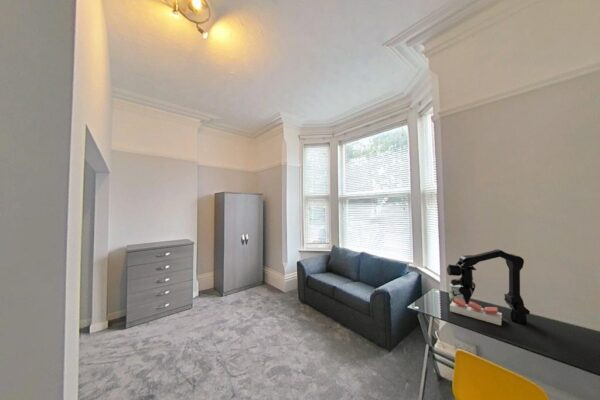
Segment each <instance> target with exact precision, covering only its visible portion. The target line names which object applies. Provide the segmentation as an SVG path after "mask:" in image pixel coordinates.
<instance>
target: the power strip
mask: <svg viewBox="0 0 600 400" xmlns="http://www.w3.org/2000/svg"><path fill="white" fill-rule="evenodd" d="M449 312H452V313H456V314H458V315H463V316H466V317H470V318H473V319H475V320H480V321H484V322H487V323H491V324H494V325H498V326H502V323H503V322H507V323H509V320H508V319H506V318H503V315H502V314H503V313H502V312H499V311H498V313H485V312H484V308H483V307H481V309H480V311H477V310H475V309H473V308H471V307H469V306H468V303H466V304H465V306H464V307H462V306H460V305H458V304H456V303H454V302H453V301H452V302H451V303H450V304H449Z"/></svg>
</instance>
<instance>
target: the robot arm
mask: <svg viewBox="0 0 600 400" xmlns="http://www.w3.org/2000/svg"><path fill="white" fill-rule="evenodd" d="M497 258H501V259H504V260H505V263H506V266H507V268H508V292H507V293H504V294H503V295H504V298H503V299H504V301H505V303H506V305H507V306H509V308H511V310H510V319H511V321H512V322H514V323H518V324H521V325H525V326H528V317H527V316H528V315H530V313H531V311H530V310H529V309H528V308H527V307H525V304H524V303H525V302H524V300H523V298H522V296H521V270H522V269H523V267H524V264H525V260H524V258H523V257H522V256H519V255H516V254H513V253H508V252H505V251H503V250H501V249H497V248H496V249H493V250H489V251H485V252H481V253H478V254H472V255H470V254H468V255H467V254H466V255H461V256H460V257H459V260H458V261H457V262H456V263H455V264H451V263H450V264H448V265H447V268H446V272H447V275H448V276H454V277H456V276H457V277H460V276H461V277H460V278H452V279H451V280H450V284H452V285H453V286H455V285H460V286H461V287H460V288H459V292H460V293H461V294H462V295H463V297H464V300H465V303H466V304H469V302H470V301H471V298H472V296H473V294H474V292H475V289H476V283H475V282H474V281H473V280H474V277H473V271H477V268H476V267H475V266H476V265H477V264H478V263H480V262H484V261H489V260H492V259H497ZM462 286H463V287H462Z"/></svg>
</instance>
